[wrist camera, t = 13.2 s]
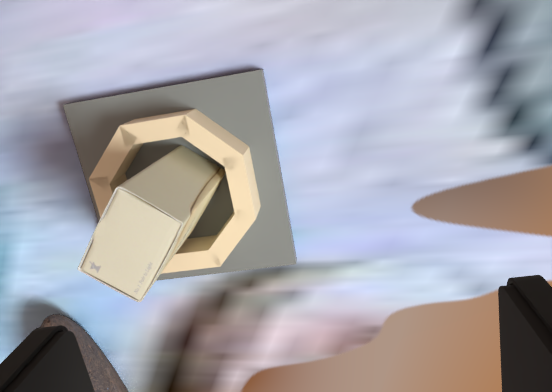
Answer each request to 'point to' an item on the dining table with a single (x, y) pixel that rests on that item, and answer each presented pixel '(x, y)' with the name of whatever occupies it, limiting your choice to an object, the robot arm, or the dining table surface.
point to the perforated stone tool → (91, 356)
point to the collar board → (207, 143)
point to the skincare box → (150, 221)
